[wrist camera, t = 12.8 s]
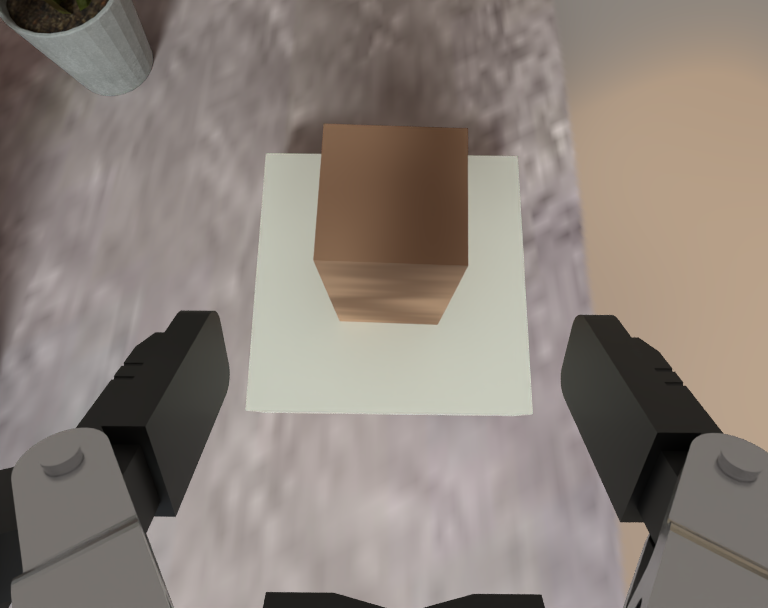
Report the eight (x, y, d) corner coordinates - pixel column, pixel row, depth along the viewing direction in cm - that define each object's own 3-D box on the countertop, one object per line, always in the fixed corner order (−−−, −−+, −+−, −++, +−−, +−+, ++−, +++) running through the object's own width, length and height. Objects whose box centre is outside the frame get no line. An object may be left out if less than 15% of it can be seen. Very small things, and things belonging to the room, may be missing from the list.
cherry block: (339, 321, 25) (313, 260, 16) (345, 229, 26) (323, 123, 17) (437, 324, 25) (468, 265, 16) (438, 232, 26) (468, 128, 17)
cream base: (264, 412, 28) (245, 410, 24) (280, 187, 31) (266, 153, 27) (512, 415, 28) (532, 414, 24) (501, 189, 31) (517, 155, 27)
